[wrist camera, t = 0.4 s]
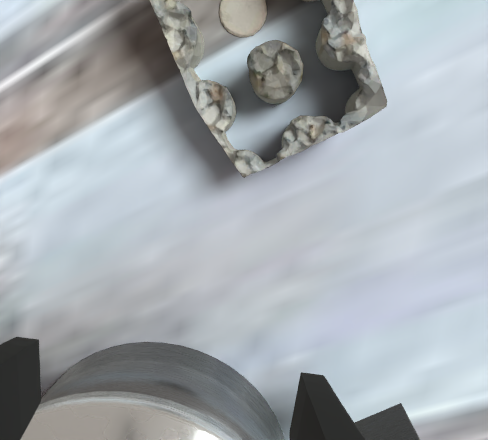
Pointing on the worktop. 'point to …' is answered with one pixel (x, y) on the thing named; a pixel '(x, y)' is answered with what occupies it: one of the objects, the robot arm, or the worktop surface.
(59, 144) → the worktop surface
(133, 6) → the worktop surface
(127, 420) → the lid
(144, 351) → the cooker pot
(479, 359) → the worktop surface
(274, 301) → the worktop surface
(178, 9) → the egg carton
